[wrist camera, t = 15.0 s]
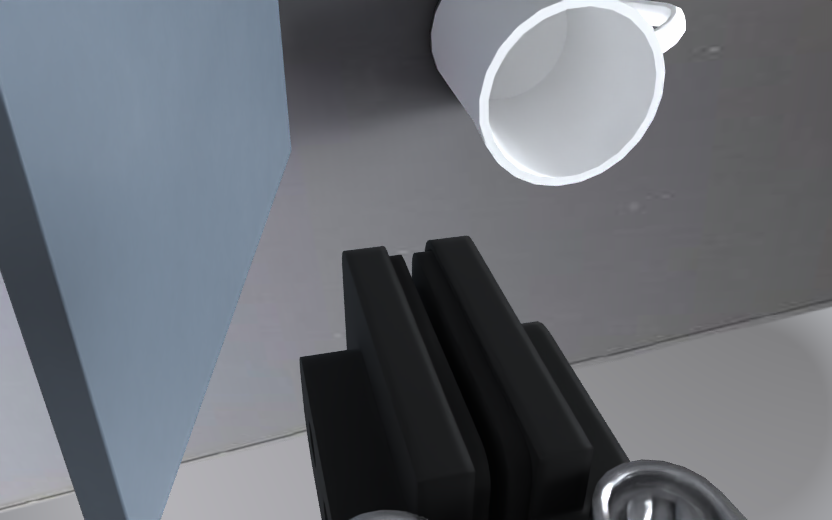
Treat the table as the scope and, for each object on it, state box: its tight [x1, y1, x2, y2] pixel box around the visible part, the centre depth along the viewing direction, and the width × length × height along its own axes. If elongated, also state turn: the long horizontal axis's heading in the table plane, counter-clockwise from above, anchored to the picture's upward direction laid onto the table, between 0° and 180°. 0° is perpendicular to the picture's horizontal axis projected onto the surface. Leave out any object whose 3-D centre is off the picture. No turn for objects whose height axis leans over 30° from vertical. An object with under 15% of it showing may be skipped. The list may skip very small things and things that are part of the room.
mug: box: [430, 0, 686, 186], centre depth 40 cm, size 11×9×10 cm
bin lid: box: [0, 0, 291, 520], centre depth 19 cm, size 18×13×1 cm
